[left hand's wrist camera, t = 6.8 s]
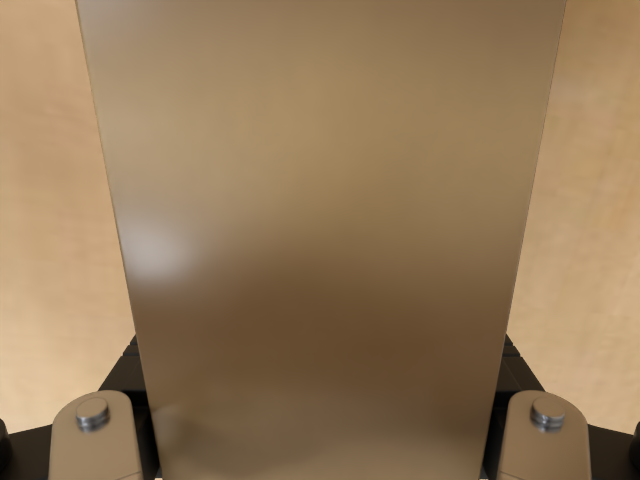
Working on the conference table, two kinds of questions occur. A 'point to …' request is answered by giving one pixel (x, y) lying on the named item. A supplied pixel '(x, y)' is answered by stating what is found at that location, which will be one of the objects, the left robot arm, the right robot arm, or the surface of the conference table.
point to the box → (320, 222)
